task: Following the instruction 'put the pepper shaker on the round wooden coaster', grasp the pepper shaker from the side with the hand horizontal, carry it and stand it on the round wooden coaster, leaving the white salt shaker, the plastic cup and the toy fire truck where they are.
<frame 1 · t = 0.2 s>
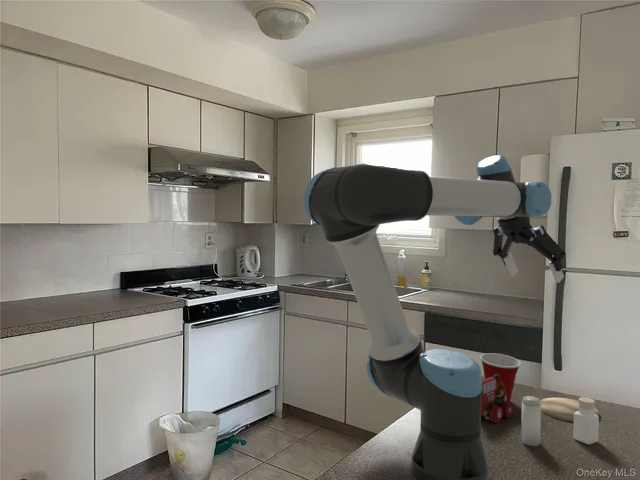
hand: (536, 276, 131), 35 cm above the counter, tool tilted 35°, fingers open, 13 cm apart
pepper shaker: (585, 441, 109), on the counter
toy fire truck: (492, 417, 123), on the counter
plastic cup: (499, 401, 134), on the counter
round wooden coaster: (568, 411, 126), on the counter
salt shaker: (530, 442, 109), on the counter
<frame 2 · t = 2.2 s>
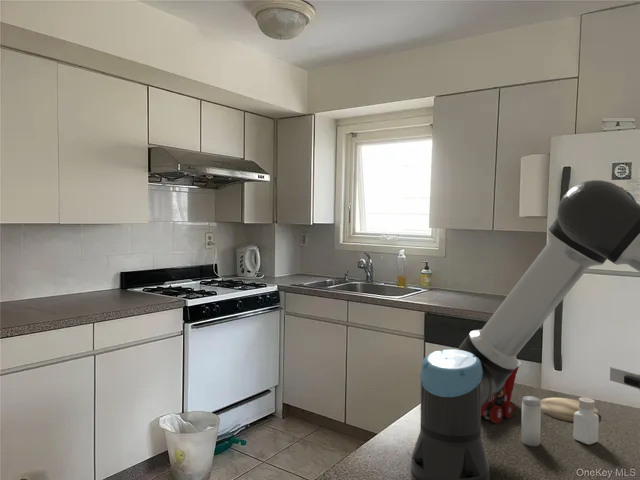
hand: (631, 368, 100), 19 cm above the counter, tool horizontal, fingers open, 13 cm apart
nothing on the counter moved.
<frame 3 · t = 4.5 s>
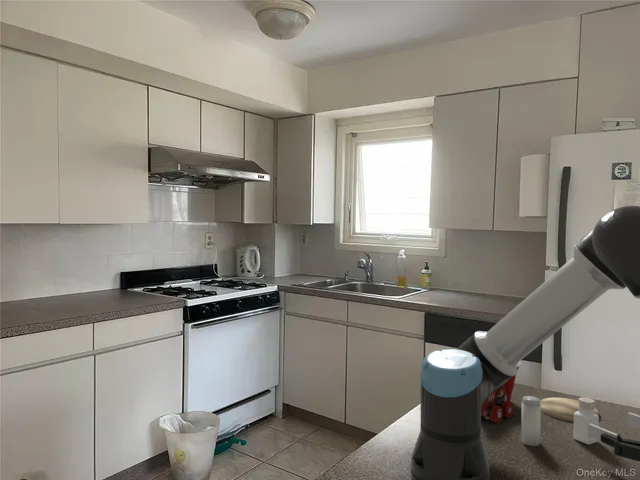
hand: (609, 423, 105), 6 cm above the counter, tool horizontal, fingers open, 13 cm apart
nothing on the counter moved.
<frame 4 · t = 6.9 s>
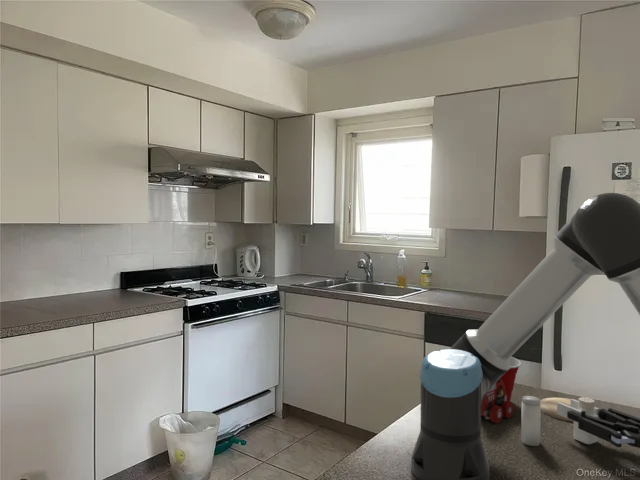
hand: (565, 406, 114), 6 cm above the counter, tool horizontal, fingers closed on pepper shaker, 4 cm apart
pepper shaker: (585, 441, 109), on the counter, touching gripper
everything else where it was.
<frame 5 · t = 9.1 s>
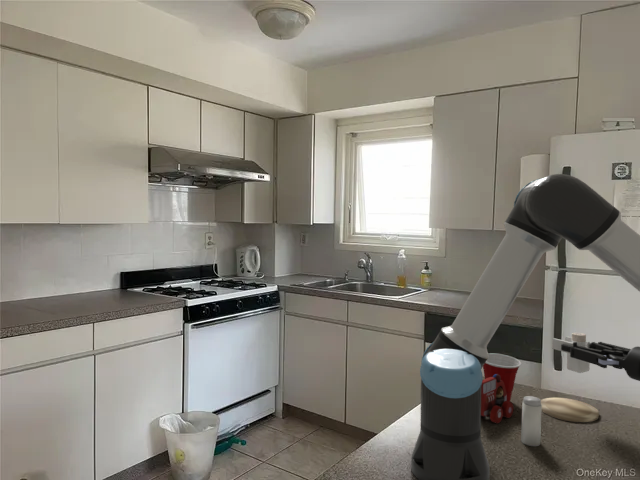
hand: (560, 342, 127), 18 cm above the counter, tool horizontal, fingers closed on pepper shaker, 4 cm apart
pepper shaker: (578, 371, 122), point 12 cm above the counter, touching gripper
everything else where it was.
when the fingers open (8 cm above the counter, at t = 11.5 s): pepper shaker stays where it is, resting on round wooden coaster.
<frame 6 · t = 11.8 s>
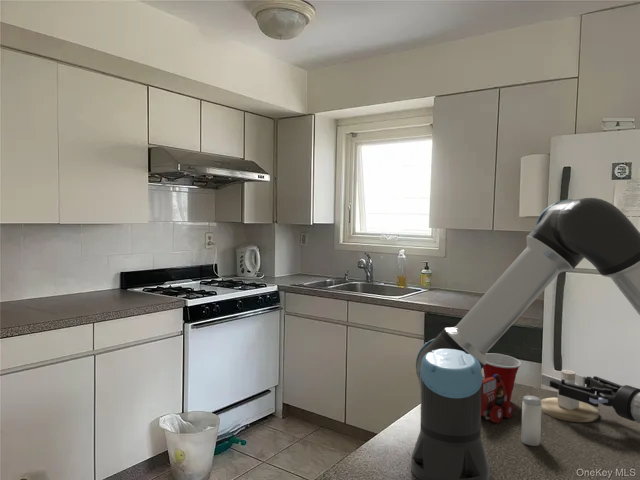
hand: (552, 376, 130), 8 cm above the counter, tool horizontal, fingers open, 7 cm apart
pepper shaker: (568, 407, 126), point 1 cm above the counter, touching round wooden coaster
everything else where it was.
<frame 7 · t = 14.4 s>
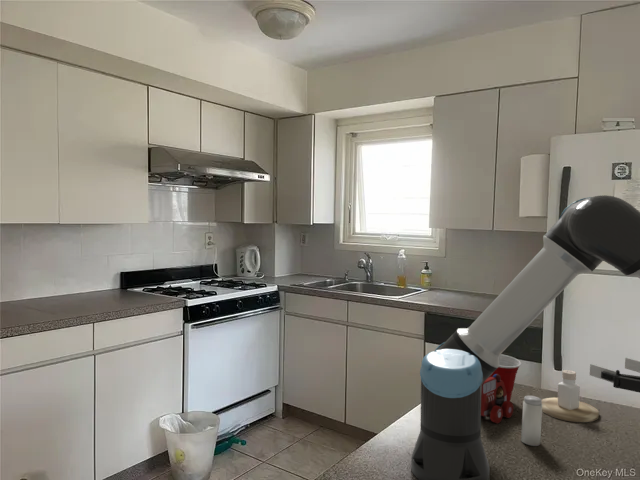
hand: (608, 365, 116), 15 cm above the counter, tool horizontal, fingers open, 13 cm apart
nothing on the counter moved.
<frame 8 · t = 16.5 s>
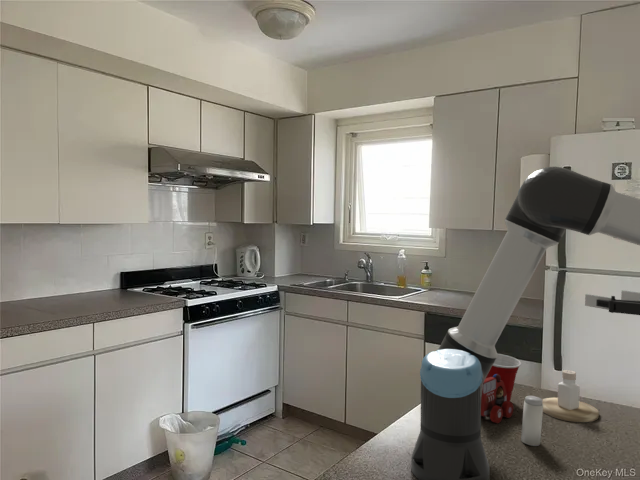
hand: (604, 297, 114), 32 cm above the counter, tool horizontal, fingers open, 13 cm apart
nothing on the counter moved.
at the end: pepper shaker inside the target area on the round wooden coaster (0.1 cm from its centre), point 0.9 cm above the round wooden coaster's base; pepper shaker tilted 0°; salt shaker moved 0.1 cm from its start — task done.
